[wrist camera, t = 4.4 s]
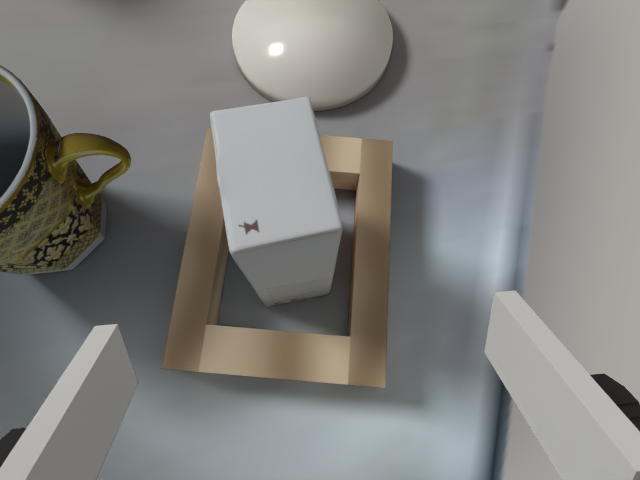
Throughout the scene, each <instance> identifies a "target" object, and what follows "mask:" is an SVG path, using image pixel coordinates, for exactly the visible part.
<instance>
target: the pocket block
mask: <svg viewBox="0 0 640 480" xmlns="http://www.w3.org/2000/svg"><path fill="white" fill-rule="evenodd" d="M320 139H321V143H322V147H323V151H324V154H325V158H326V162H327V165H328V169H329V172H330V176H331V179H332V183H333V187H334V189H347V190H356V198H355V215H354V232H353V249H352V266H351V283H350V299H349V316H348V333H347V336H336V335H325V334H313V333H301V332H289V331H277V330H265V329H253V328H242V327H230V326H218V325H217V323H218V316H219V310H220V304H221V297H222V291H223V284H224V278H225V271H226V265H227V259H228V252H229V246H228V240H227V234H226V228H225V221H224V215H223V209H222V202H221V195H220V189H219V185H218V180H217V170H216V157H215V150H214V142H213V135H212V128H211V127H207V132H206V138H205V143H204V148H203V153H202V158H201V164H200V169H199V174H198V179H197V185H196V190H195V195H194V200H193V206H192V211H191V216H190V221H189V226H188V232H187V237H186V242H185V247H184V253H183V258H182V263H181V268H180V273H179V279H178V284H177V289H176V294H175V300H174V305H173V310H172V315H171V321H170V326H169V331H168V336H167V341H166V347H165V352H164V357H163V362H162V368H161V369H171V370H182V371H194V372H206V373H217V374H229V375H241V376H252V377H264V378H276V379H287V380H299V381H311V382H322V383H334V384H346V385H357V386H369V387H381V388H385V384H386V351H387V318H388V285H389V252H390V219H391V186H392V153H393V141H387V140H375V139H362V138H349V137H336V136H324V135H320Z"/></svg>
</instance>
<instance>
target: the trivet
mask: <svg viewBox="0 0 640 480" xmlns="http://www.w3.org/2000/svg"><path fill="white" fill-rule="evenodd" d="M232 42H233V48H234V52H235V56H236V60H237V64H238V66H239V69H240V71H241V73H242V75H243V76H244V78H245V80H246V81H247V82H248V83H249V84H250V86H251V87H252V88H253V89H254V90H256V91H257V92H258V93H259V94H260V95H262V96H263V97H265V98H266V99H268V100H270V101H272V102H277V101H283V100H289V99H295V98H301V97H306V96H308V97H310V99H311V104H312V108H313V111H324V110H331V109H335V108H339V107H342V106H345V105H348V104H350V103H352V102H354V101H356V100H358V99H360V98H361V97H363V96H364V95H366V94H367V93H368V92H369V91H370V90H372V89H373V88H374V87H375V85H376V84H377V83H378V82H379V81H380V79H381V78H382V76H383V74H384V72H385V70H386V68H387V65H388V62H389V58H390V54H391V50H392V44H393V30H392V25H391V21H390V19H389V16H388V14H387V12H386V10H385V8H384V7H383V5H382V4H381V3H380V1H379V0H246V1H245V2H244V3H243V5H242V6H241V8H240V9H239V11H238V13H237V15H236V18H235V21H234V25H233V31H232Z"/></svg>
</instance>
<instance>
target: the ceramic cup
mask: <svg viewBox="0 0 640 480" xmlns="http://www.w3.org/2000/svg"><path fill="white" fill-rule="evenodd" d="M91 155H109V156H114V157H117V158H119V159H121V160H122V161H121V162H120V163H119V164H117V165H115V166H114V167H112V168H111V169H109V170H108V171H106V172H105V173H104V174H103V175H102V176H101V177H100V179H99V180H98V181H97V182H95V183H91V182H90V180H89V179H88V177H87V176H86V174H85V173H84V171H83V170H82V168H81V167H80V166H79V164H78V163H77V161H76V160H75V159H78V158H81V157H85V156H91ZM130 163H131V157H130V154H129V152H128V151H127V150H126V149H125V148H124V147H123V146H121V145H120V144H118V143H117V142H115V141H113V140H111V139H109V138H106V137H103V136H100V135H95V134H87V133H75V134H69V135H66V136H64V137H61V136H60V134H59V133H58V131H57V129H56V128H55V126H54V125H53V123H52V122H51V120H50V118H49V117H48V115H47V114H46V112H45V111H44V110H43V108H42V107H41V106H40V104H39V103H38V102H37V100H36V99H35V98H34V96H33V95H32V94H31V93H30V91H29V90H28V89H27V88H26V86H25V85H24V84H23V83H22V82H21V80H20V79H18V78H17V77H16V76H15V75H14V74H13V73H12V72H10V71H9V70H7V69H6V68H4V67H2V66H0V272H8V273H16V274H38V273H48V272H58V271H67V270H72V269H74V268H75V267H76V266H77V265H79V264H80V263H81V262H82V261H83V260H84V259H85V258H86V257H87V256H88V255H89V254H90V253H91V252H92V251H93V250H94V249H95V248H96V247H97V246H98V245H99V244H100V243H101V242H102V241H103V240H104V239H105V232H106V213H107V205H106V202H105V200H104V199H103V198H102V197H101V195H100V194H99V193H100V192H101V191H102V190H103V189H104V188H105V187H106V185H107V184H108V183H110V182H111V181H113V180H114V179H116V178H118V177H119V176H121V175H122V174H124V173H125V172H126V171H127V170H128V168H129V167H130Z"/></svg>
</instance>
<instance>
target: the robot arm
mask: <svg viewBox="0 0 640 480" xmlns="http://www.w3.org/2000/svg"><path fill="white" fill-rule="evenodd" d="M484 353H485V354H486V356H487V358H488V359H489V361H490V363H491V364H492V366H493V367H494V369H495V371H496V372H497V374H498V376H499V377H500V379H501V380H502V382H503V384H504V385H505V387H506V389H507V390H508V392H509V394H510V395H511V397H512V398H513V400H514V402H515V403H516V405H517V407H518V408H519V410H520V411H521V413H522V415H523V416H524V418H525V419H526V421H527V423H528V425H529V426H530V428H531V429H532V431H533V433H534V434H535V436H536V437H537V439H538V441H539V442H540V444H541V446H542V447H543V449H544V450H545V452H546V454H547V455H548V457H549V459H550V460H551V462H552V464H553V465H554V467H555V469H556V470H557V472H558V473H559V475H560V477H561V478H562V480H640V405H639V402H638V401H637V400H636V399H635V398H634V396H632V394H631V393H630V392H629V391H628V390H627V389H626V388H625V387H624V386H622V385H621V384H619V383H618V382H616V381H615V380H613V379H612V378H610V377H609V376H607V375H605V374H595V375H589V374H588V372H587V371H586V370H585V369H584V368H583V367H582V366H581V364H580V363H579V362H578V361H577V360H576V359H575V358H574V356H573V355H572V354H571V353H570V352H569V351H568V350H567V349H566V348H565V346H564V345H563V344H562V343H561V342H560V341H559V339H558V338H557V337H556V336H555V335H554V334H553V333H552V332H551V330H550V329H549V328H548V327H547V326H546V325H545V324H544V323H543V321H542V320H541V319H540V318H539V317H538V316H537V315H536V314H535V312H534V311H533V310H532V309H531V308H530V307H529V305H528V304H527V303H526V302H525V301H524V300H523V299H522V298H521V296H520V295H519V294H518V293H517V292H516V291H504V292H494V296H493V302H492V308H491V314H490V320H489V326H488V332H487V338H486V344H485V350H484ZM137 384H138V381H137V378H136V375H135V372H134V370H133V367H132V364H131V361H130V358H129V355H128V352H127V350H126V347H125V344H124V341H123V338H122V335H121V332H120V329H119V327H118V324H111V325H99V326H94V328H93V329H92V331H91V332H90V334H89V335H88V337H87V338H86V340H85V341H84V343H83V344H82V346H81V347H80V349H79V350H78V352H77V353H76V355H75V356H74V358H73V359H72V361H71V362H70V364H69V365H68V367H67V368H66V370H65V371H64V373H63V374H62V376H61V377H60V379H59V380H58V382H57V383H56V385H55V386H54V388H53V389H52V391H51V392H50V394H49V395H48V397H47V398H46V400H45V401H44V403H43V404H42V406H41V407H40V409H39V410H38V412H37V413H36V415H35V416H34V418H33V419H32V421H31V422H30V424H29V425H28V427H27V428H20V429H12V430H11V431H10V432H9V433H8V434H6V435H5V436H4V437H3V438H2V439H1V440H0V480H96V479H97V477H98V474H99V472H100V470H101V467H102V465H103V463H104V461H105V458H106V456H107V454H108V451H109V449H110V447H111V444H112V442H113V440H114V437H115V435H116V433H117V431H118V428H119V426H120V424H121V421H122V419H123V417H124V414H125V412H126V410H127V407H128V405H129V403H130V401H131V398H132V396H133V394H134V391H135V389H136V387H137Z"/></svg>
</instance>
